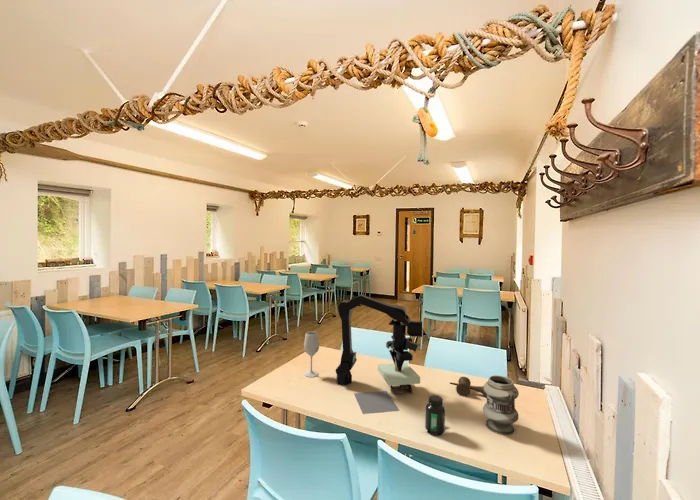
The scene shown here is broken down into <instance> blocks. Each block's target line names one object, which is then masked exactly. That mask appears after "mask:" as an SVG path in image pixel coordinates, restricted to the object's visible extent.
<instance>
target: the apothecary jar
mask: <svg viewBox="0 0 700 500" xmlns="http://www.w3.org/2000/svg"><path fill="white" fill-rule="evenodd" d="M483 386H484V391H485V392H486V394H487V395H486V403H484V405H483V407H482V411H483V414H484V416H485V417H486V418H487V419H486V421H485V427H486V428H487V429H488V430H489V431H490V432H493V433H495V434H497V435H503V436H510V435H513V434H514V433H515V431H516V430H515V427H514V426H513V425H512V424H514V423H516V422H518V420H519V413H518V411H517V409H516V405H515V404H516V402H515V401H516V400H515V399H517V398H518V397H519V389H518V388H517V387H516V386H515V384H514V380H513V379H512V378H510V377H507V376H503V375H499V374H498V375H496V374H495V375H494V374H493V375H490V376H489V377H488V380H487V381H486V382H485V383H484V384H483Z"/></svg>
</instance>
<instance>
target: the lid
mask: <svg viewBox="0 0 700 500" xmlns="http://www.w3.org/2000/svg"><path fill="white" fill-rule="evenodd" d="M377 371H378V373H379V375H380V376H381V377H382V378H383V380H384V381H385V383H386V384H387V385H388V386H389V387H390V386H392V387H393V386H399V385H406V384H410V385H419V384H421V376H420V375H419V374H418V373H417V372H416V371H415V370H414V369H413V368H412V367H411V366H410V365H409V364H408V363H407V362H404V363H403V365H402V368H401V371H398V368H397V365H396V361H395V364H394V363H383V364H377Z"/></svg>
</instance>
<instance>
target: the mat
mask: <svg viewBox="0 0 700 500" xmlns="http://www.w3.org/2000/svg"><path fill="white" fill-rule="evenodd" d="M353 394H354V397H355V399H356V402H357V404H358V406H359V408H360V410H361V413H362V415H366V414H378V413H389V412H391V413H392V412H400V409H399V408H398V406H397V404H396V402H395V401H394V400H393V399H392V397H391V395H390V394H389V393H388V391H387V390H381V391H369V392H356V393H353Z"/></svg>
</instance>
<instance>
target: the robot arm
mask: <svg viewBox="0 0 700 500" xmlns="http://www.w3.org/2000/svg"><path fill="white" fill-rule="evenodd" d="M361 305H362V306H365V307H366V308H370V309H373V310H376V311H378V312H381V313H384V314H385V315H387V316H388V317H389V318H391V320H390V321H389V322H388V326H389V325H390V326H392V335H391V339H392V340H387V342H386V343H385V344H386V345H385V347H386V348H387V349H388V351H389V354H390V357H391V359H392V361H393V364H395V361H396V365H397V368H398V371H401V368H402V365H403V363H405V361H407V362H408V361H413V360H414V359H413V354H412V353H411V352H410V351H413V352H415V353H416V352H417V349H418V347H419V344H418V343H416V342H415V341H414V340H413V338H411V337H415V338H418V337H419V338H423V329H424V328H423V321H422V320H419V321H417V320H412V319H411V318H410V316H409V315H408V314H407V308H405V307H404V306H403V305H398V304H388V303H386V302H383V301H381V300H378V299H375V298H372V297H369V296H367V295H365V294H359V295H358V296H355V297H353V298H351V299H344V300H343V301H341V302H339V304H338V306H337V312H338V316H339V318H340V321H341V336H342V337H341V339H342V341H341V342H342V353H341V357H340V363H339V365H338V366H337V367H336V368H335V374H336V384H337V385H339V386H347V385H349V384H350V385H352V383H353V374H352V372H351V370H352V369H353V368H354V366H355V364H356V362H357V360H358V359H357V352H356V351H354V350H353V343H352V342H353V341H352V339H353V338H352V317H353V316H352V315H353V311H354V310H353V309H355V308H357V307H358V306H361ZM406 335H408V337H406ZM408 350H410V351H408Z"/></svg>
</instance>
